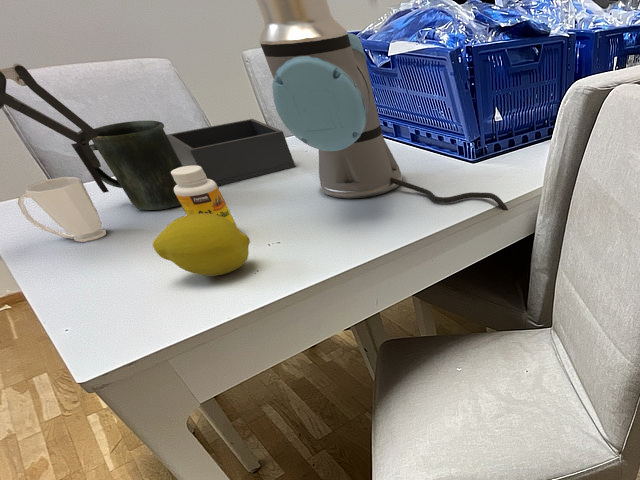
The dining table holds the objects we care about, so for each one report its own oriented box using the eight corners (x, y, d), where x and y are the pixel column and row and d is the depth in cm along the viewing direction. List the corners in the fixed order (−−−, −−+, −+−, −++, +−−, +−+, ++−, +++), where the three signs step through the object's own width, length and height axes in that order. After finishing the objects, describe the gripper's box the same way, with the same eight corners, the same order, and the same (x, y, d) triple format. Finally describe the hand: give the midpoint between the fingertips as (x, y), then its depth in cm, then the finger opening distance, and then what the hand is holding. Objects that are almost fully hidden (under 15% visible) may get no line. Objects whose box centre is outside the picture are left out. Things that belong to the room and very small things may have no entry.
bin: (295, 166, 97) (282, 131, 92) (209, 188, 88) (190, 150, 83) (265, 151, 105) (252, 118, 100) (184, 170, 96) (165, 134, 92)
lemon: (267, 255, 66) (241, 200, 61) (255, 281, 61) (226, 223, 55) (188, 264, 65) (154, 208, 59) (169, 291, 59) (130, 233, 54)
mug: (188, 209, 80) (147, 134, 72) (100, 217, 78) (46, 140, 70) (209, 188, 88) (173, 118, 79) (128, 195, 86) (83, 124, 78)
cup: (105, 242, 71) (66, 189, 65) (33, 250, 69) (-12, 196, 64) (124, 225, 76) (90, 174, 70) (57, 231, 74) (17, 180, 68)
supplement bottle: (213, 249, 68) (174, 178, 61) (195, 240, 71) (156, 171, 63) (247, 236, 71) (214, 167, 64) (229, 228, 74) (196, 161, 67)
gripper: (44, 13, 62) (139, 176, 77) (-240, 26, 49) (-61, 217, 64) (52, 16, 58) (150, 186, 73) (-254, 30, 45) (-60, 233, 60)
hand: (52, 201), depth 68 cm, fingers open, 13 cm apart
